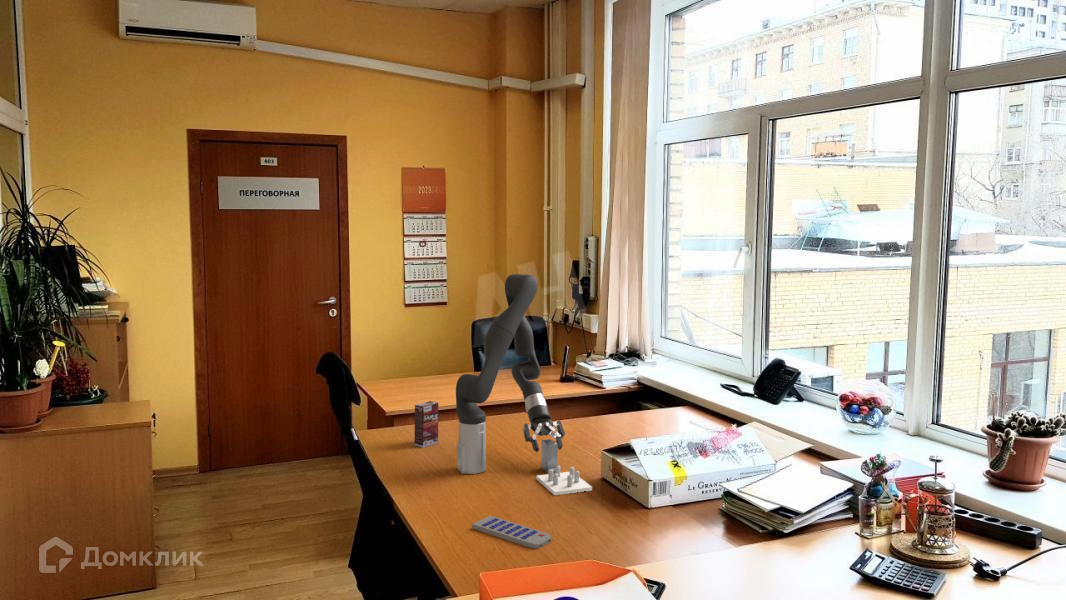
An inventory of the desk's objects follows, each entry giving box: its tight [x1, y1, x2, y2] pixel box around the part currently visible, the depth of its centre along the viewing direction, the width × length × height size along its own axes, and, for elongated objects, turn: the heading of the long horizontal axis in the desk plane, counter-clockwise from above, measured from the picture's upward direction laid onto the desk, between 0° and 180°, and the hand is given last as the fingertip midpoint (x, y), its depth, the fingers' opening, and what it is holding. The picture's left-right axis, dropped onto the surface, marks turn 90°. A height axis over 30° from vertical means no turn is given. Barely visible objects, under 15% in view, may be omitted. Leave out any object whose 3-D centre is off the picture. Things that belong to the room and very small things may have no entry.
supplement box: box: [414, 400, 439, 448], centre depth 296 cm, size 9×5×16 cm, turn 143°
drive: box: [540, 438, 559, 474], centre depth 268 cm, size 4×6×10 cm, turn 21°
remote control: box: [471, 515, 552, 549], centre depth 215 cm, size 8×23×2 cm, turn 53°
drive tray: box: [535, 464, 593, 496], centre depth 254 cm, size 13×16×5 cm
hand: (549, 449), depth 268 cm, fingers open, 8 cm apart
